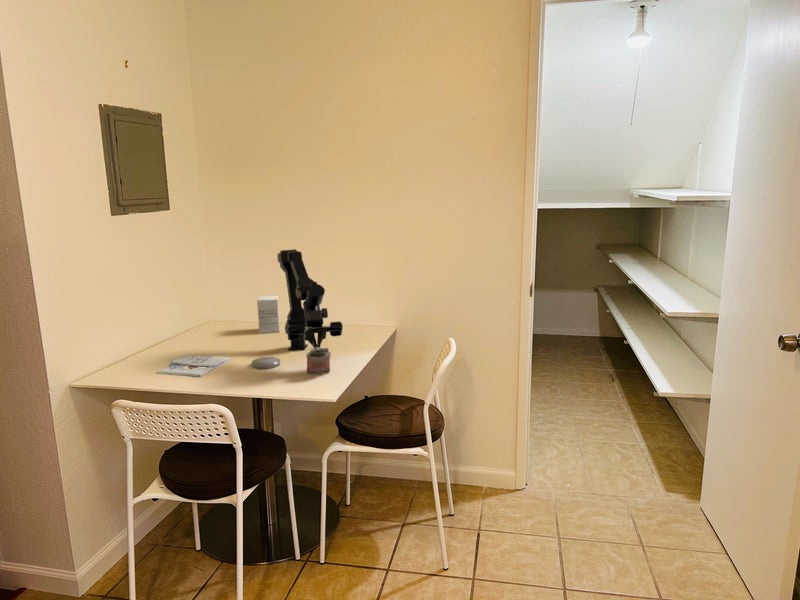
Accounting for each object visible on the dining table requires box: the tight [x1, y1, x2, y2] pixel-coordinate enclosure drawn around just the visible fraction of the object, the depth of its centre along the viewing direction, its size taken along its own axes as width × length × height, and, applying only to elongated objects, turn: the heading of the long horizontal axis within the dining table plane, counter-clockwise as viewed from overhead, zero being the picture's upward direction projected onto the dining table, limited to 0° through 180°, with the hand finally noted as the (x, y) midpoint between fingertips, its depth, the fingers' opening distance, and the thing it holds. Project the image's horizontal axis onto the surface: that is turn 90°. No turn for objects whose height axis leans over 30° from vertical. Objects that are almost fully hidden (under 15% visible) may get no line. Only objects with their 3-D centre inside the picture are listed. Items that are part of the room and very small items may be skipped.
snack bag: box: [156, 354, 232, 378], centre depth 216 cm, size 19×20×2 cm
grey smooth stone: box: [251, 356, 281, 370], centre depth 216 cm, size 10×10×2 cm
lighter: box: [306, 347, 331, 375], centre depth 204 cm, size 8×3×10 cm, turn 101°
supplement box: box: [256, 295, 281, 334], centre depth 264 cm, size 9×9×15 cm
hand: (318, 351), depth 204 cm, fingers closed
